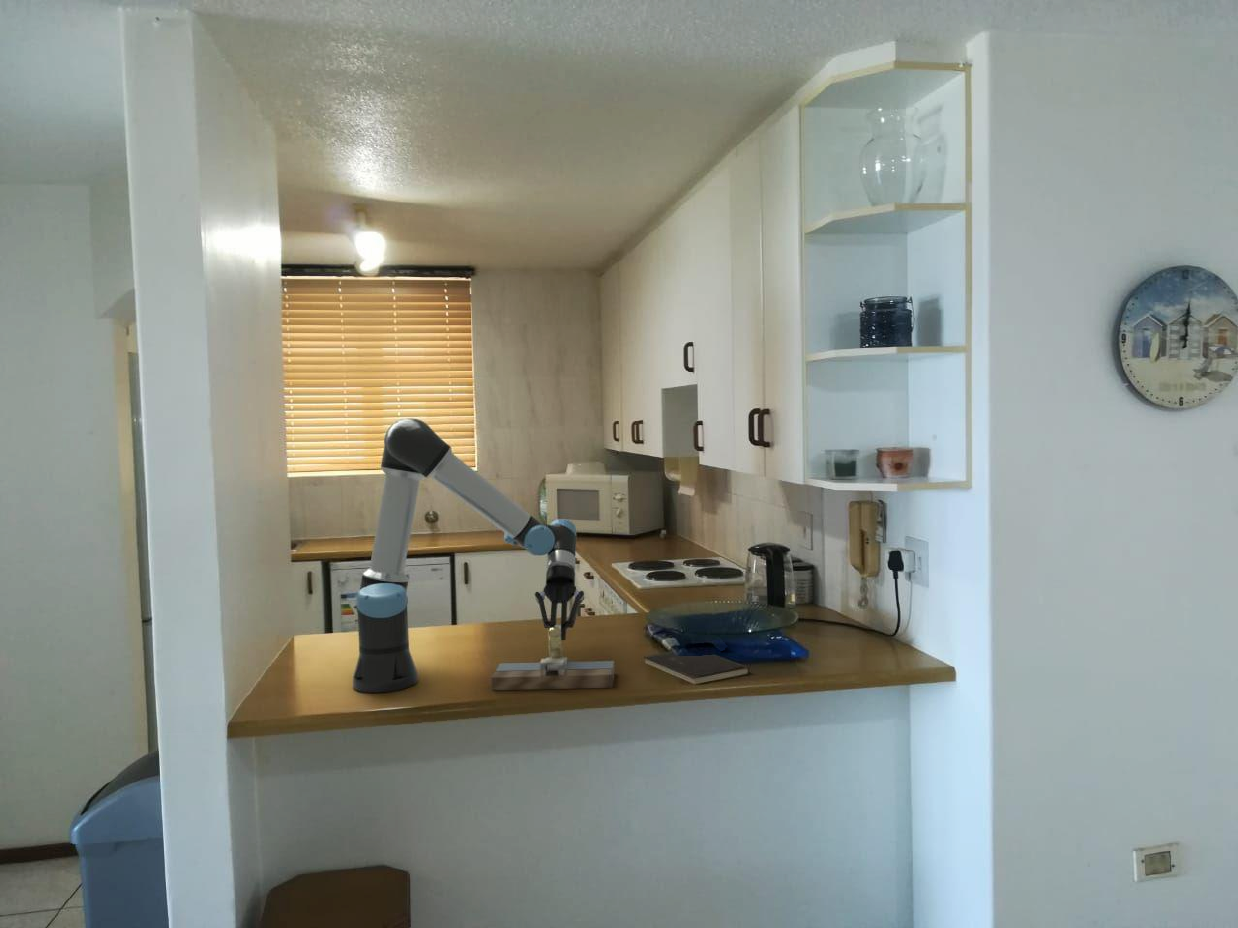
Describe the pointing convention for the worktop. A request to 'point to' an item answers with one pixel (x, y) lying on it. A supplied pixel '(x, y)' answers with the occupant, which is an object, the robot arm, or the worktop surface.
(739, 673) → the hardcover book
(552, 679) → the block
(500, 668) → the latch base plate
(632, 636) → the worktop surface
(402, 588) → the robot arm
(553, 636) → the bolt
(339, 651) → the worktop surface
